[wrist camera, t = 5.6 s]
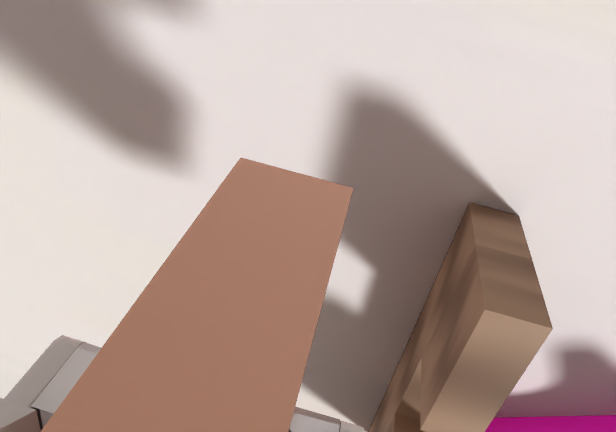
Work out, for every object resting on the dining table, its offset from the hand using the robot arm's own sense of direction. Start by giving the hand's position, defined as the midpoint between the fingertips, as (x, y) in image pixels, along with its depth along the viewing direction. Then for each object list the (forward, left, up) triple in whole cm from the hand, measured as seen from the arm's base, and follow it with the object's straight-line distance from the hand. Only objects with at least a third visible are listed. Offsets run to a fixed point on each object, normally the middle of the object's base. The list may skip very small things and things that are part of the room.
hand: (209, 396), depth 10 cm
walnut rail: (+12, +9, -16) cm, 22 cm away
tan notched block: (+4, 0, -7) cm, 8 cm away
